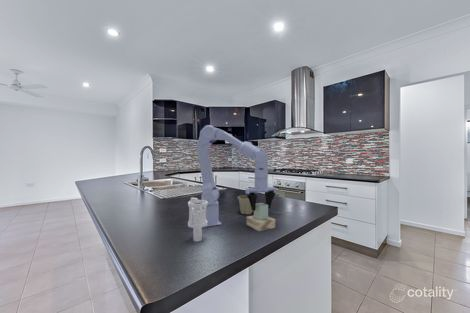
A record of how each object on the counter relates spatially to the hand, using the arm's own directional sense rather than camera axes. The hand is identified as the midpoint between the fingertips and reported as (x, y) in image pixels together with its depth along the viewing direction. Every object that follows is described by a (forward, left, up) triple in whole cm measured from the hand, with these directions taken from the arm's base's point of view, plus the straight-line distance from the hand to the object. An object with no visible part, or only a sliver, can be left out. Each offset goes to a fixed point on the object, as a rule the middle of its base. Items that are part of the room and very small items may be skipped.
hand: (260, 209), depth 88 cm
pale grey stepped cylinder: (-29, -3, -8) cm, 30 cm away
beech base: (0, 0, -8) cm, 8 cm away
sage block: (0, 0, -4) cm, 4 cm away
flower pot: (+4, +20, -8) cm, 22 cm away
